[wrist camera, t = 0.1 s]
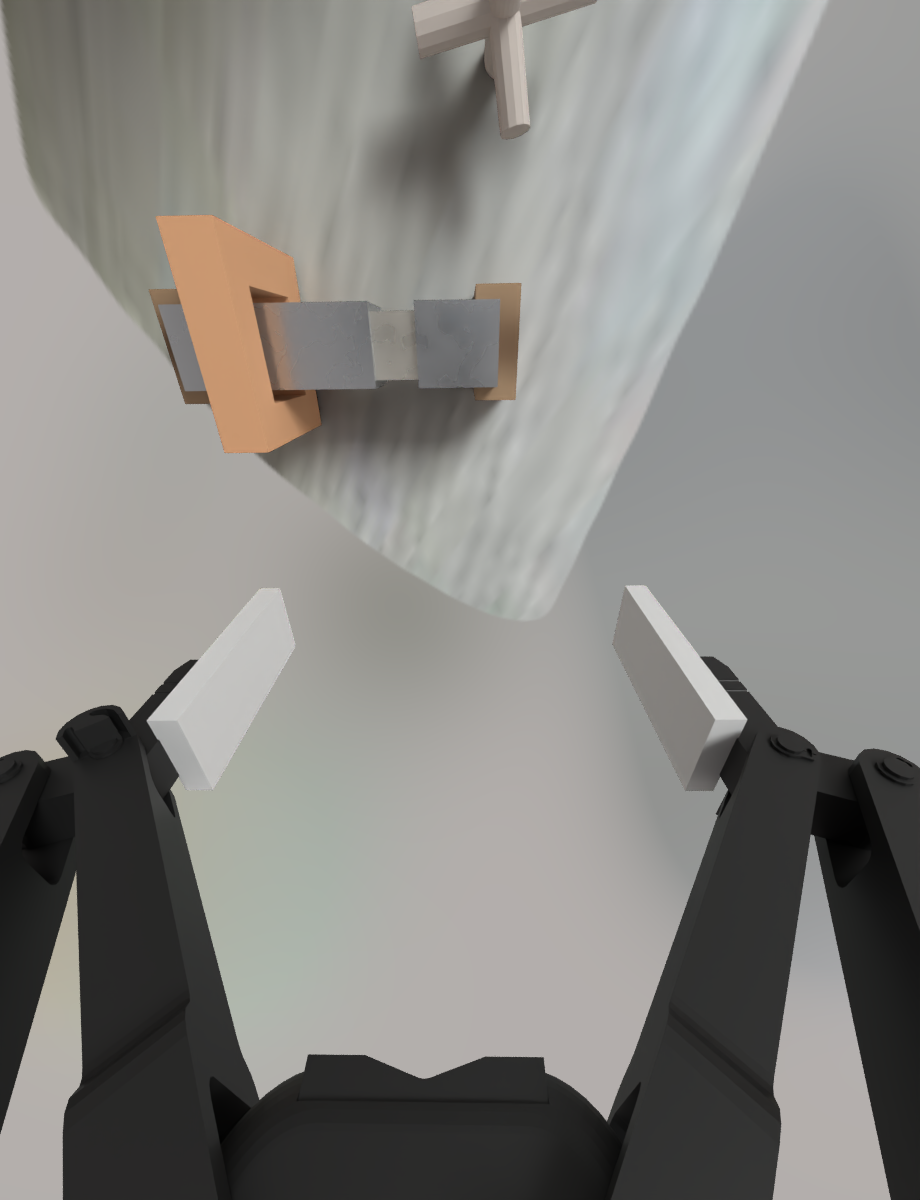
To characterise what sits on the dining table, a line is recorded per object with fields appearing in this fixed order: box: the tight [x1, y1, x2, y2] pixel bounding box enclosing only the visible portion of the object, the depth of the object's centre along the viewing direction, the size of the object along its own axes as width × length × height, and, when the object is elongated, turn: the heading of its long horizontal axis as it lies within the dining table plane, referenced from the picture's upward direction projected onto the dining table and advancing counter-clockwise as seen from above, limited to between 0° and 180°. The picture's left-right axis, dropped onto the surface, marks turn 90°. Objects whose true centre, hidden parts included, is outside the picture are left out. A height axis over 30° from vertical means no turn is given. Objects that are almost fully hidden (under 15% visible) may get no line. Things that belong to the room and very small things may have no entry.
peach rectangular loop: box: [156, 215, 322, 453], centre depth 30 cm, size 12×3×12 cm, turn 1°
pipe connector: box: [412, 0, 597, 140], centre depth 23 cm, size 10×10×10 cm
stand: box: [149, 283, 521, 404], centre depth 33 cm, size 7×25×7 cm, turn 91°
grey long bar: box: [158, 299, 500, 391], centre depth 30 cm, size 5×22×5 cm, turn 91°
